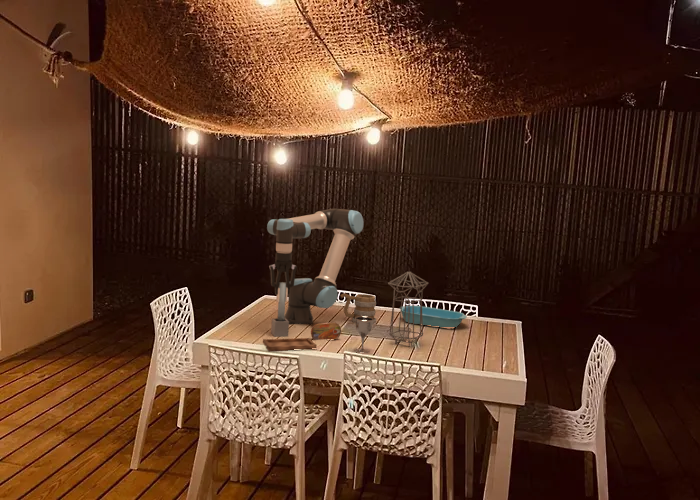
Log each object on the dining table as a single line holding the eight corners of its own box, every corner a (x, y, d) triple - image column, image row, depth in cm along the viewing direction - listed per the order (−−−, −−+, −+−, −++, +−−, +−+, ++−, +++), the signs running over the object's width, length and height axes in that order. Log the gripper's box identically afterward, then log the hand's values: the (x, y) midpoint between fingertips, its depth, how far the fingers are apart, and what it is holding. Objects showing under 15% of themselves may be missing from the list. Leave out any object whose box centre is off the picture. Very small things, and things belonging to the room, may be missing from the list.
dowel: (283, 319, 316) (285, 282, 314) (285, 320, 313) (286, 283, 311) (276, 319, 315) (278, 282, 313) (278, 321, 312) (280, 283, 310)
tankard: (375, 319, 363) (377, 292, 362) (375, 325, 351) (377, 297, 349) (339, 317, 364) (341, 290, 362) (338, 322, 351) (339, 294, 350)
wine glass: (352, 348, 302) (354, 316, 300) (369, 348, 303) (372, 316, 301) (354, 353, 294) (356, 320, 293) (371, 353, 295) (374, 320, 293)
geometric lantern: (413, 350, 305) (416, 275, 301) (383, 344, 313) (386, 271, 309) (427, 343, 318) (431, 271, 314) (398, 338, 327) (401, 268, 322)
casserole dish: (469, 324, 366) (470, 312, 365) (460, 333, 345) (461, 319, 345) (405, 315, 380) (406, 303, 379) (393, 323, 359) (394, 310, 358)
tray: (308, 342, 308) (308, 338, 307) (316, 349, 296) (316, 345, 296) (262, 343, 300) (262, 339, 300) (269, 351, 288) (269, 347, 288)
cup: (284, 334, 319) (285, 318, 318) (288, 338, 313) (288, 321, 312) (271, 334, 317) (271, 318, 316) (274, 338, 311) (275, 321, 310)
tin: (312, 342, 309) (313, 324, 308) (309, 340, 311) (310, 322, 310) (340, 340, 316) (342, 322, 314) (338, 338, 318) (339, 321, 317)
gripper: (298, 250, 316) (296, 299, 319) (265, 250, 311) (263, 299, 314) (302, 253, 309) (300, 302, 312) (268, 253, 304) (266, 303, 307)
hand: (281, 301), depth 313 cm, fingers closed on dowel, 3 cm apart
